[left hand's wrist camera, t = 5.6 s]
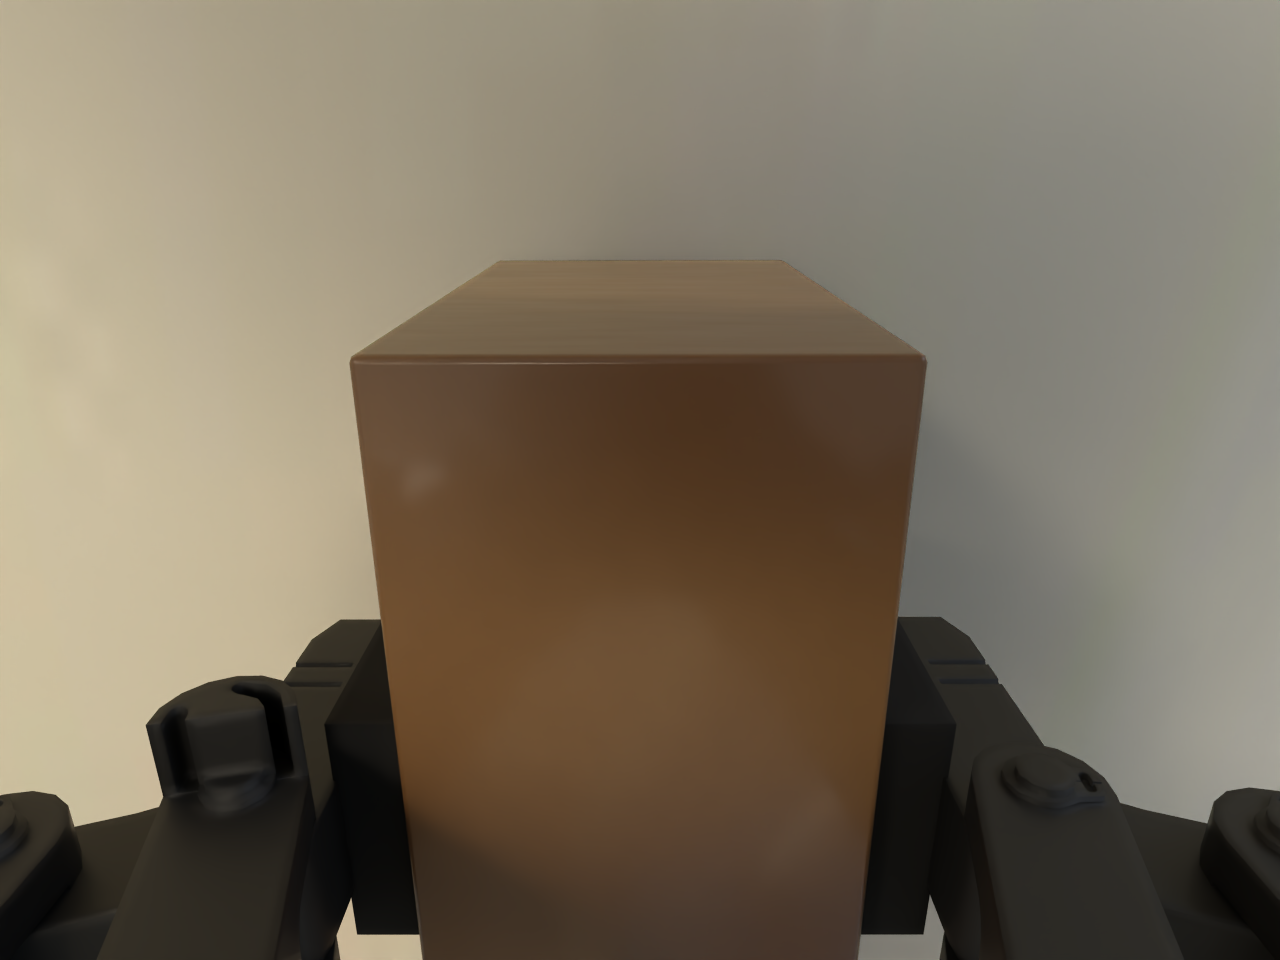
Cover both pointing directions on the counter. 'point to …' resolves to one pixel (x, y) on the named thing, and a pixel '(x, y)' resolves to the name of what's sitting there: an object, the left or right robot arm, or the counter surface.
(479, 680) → the post
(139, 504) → the counter surface
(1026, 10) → the counter surface
